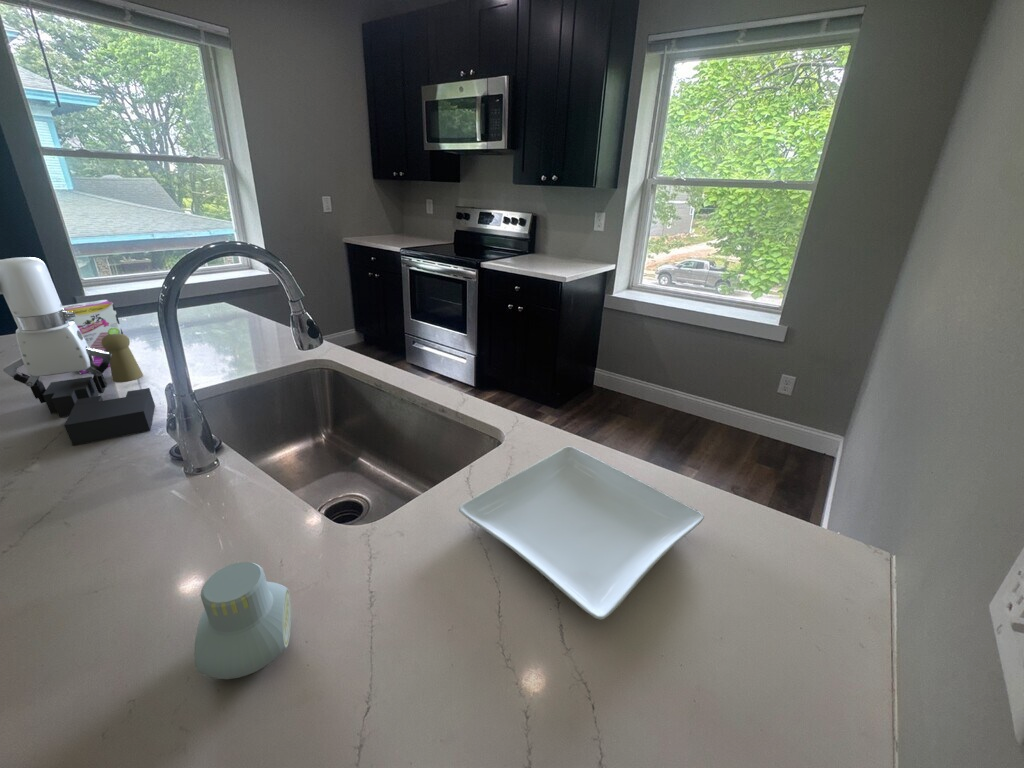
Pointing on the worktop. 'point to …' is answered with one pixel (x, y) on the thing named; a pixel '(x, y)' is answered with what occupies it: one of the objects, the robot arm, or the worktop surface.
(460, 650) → the worktop surface
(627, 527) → the square plate
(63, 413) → the pad
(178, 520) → the worktop surface
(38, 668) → the worktop surface
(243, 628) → the air freshener
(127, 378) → the cork
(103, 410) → the notch pad
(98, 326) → the candy bar box
